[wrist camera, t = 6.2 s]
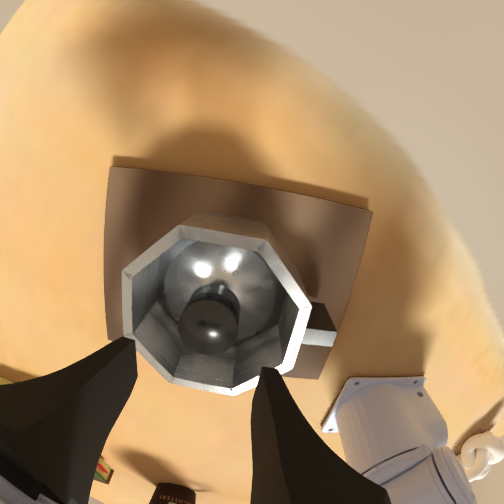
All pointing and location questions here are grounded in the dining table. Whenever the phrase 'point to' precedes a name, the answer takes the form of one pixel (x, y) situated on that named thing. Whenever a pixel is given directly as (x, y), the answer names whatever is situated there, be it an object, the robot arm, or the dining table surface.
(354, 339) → the dining table surface
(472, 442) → the white knot ornament
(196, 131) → the dining table surface
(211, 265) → the grey knobbed lid
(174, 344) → the silver octagonal piece
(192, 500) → the coffee mug
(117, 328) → the serving board
